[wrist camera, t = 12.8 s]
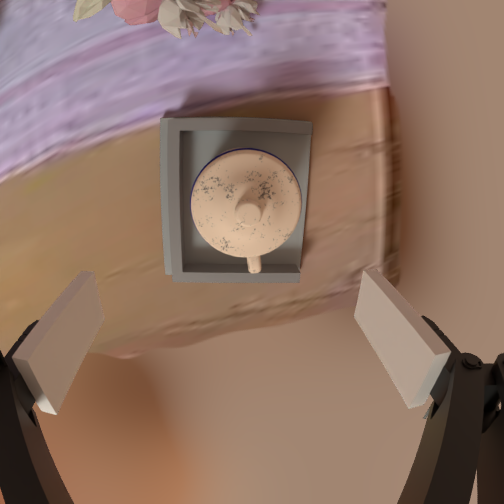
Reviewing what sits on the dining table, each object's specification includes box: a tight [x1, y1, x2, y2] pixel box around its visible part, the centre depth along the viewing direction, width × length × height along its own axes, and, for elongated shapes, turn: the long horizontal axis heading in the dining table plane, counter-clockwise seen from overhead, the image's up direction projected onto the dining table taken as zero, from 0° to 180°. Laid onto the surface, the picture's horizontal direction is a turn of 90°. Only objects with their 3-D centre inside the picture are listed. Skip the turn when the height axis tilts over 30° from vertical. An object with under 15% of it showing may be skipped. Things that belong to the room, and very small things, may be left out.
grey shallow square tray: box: [160, 117, 313, 283], centre depth 32 cm, size 18×16×3 cm
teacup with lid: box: [190, 147, 302, 273], centre depth 27 cm, size 12×9×12 cm
